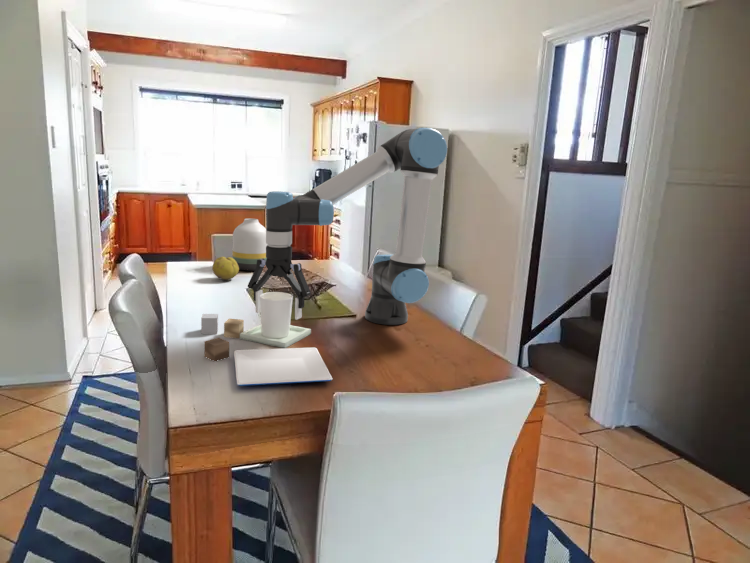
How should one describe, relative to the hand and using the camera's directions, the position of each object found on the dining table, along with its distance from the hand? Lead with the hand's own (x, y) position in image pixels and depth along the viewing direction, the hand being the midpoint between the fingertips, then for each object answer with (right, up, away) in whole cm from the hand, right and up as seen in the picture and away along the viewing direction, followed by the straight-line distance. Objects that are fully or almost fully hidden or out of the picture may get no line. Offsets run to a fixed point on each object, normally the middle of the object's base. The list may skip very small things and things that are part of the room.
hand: (278, 315), depth 157 cm
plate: (+5, -13, -24) cm, 28 cm away
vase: (-31, +16, +94) cm, 101 cm away
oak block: (-13, -6, 0) cm, 15 cm away
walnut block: (-13, -10, -18) cm, 25 cm away
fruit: (-36, +11, +69) cm, 78 cm away
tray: (-1, -6, +1) cm, 7 cm away
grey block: (-21, -5, +1) cm, 22 cm away
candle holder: (-1, -6, +1) cm, 6 cm away
